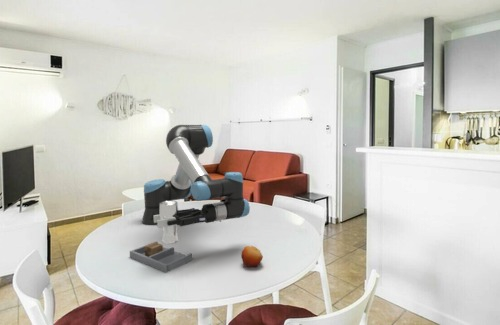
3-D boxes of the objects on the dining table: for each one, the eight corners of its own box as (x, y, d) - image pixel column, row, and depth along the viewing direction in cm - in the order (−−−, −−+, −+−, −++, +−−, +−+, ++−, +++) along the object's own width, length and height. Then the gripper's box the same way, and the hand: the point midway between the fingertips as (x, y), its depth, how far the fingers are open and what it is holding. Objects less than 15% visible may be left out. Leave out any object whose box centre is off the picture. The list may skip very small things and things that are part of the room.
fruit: (235, 257, 112) (246, 239, 112) (253, 266, 113) (263, 249, 113) (236, 267, 104) (247, 248, 104) (255, 276, 105) (266, 258, 105)
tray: (130, 258, 116) (129, 251, 116) (159, 247, 128) (159, 240, 127) (166, 274, 103) (165, 265, 103) (195, 259, 114) (195, 252, 114)
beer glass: (163, 245, 106) (160, 205, 105) (159, 239, 113) (157, 201, 111) (181, 242, 110) (180, 203, 108) (177, 236, 116) (175, 199, 114)
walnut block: (145, 255, 118) (144, 245, 118) (155, 251, 122) (154, 242, 122) (152, 258, 115) (151, 248, 115) (162, 253, 119) (162, 244, 119)
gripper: (223, 227, 111) (161, 239, 100) (205, 215, 128) (151, 224, 117) (222, 208, 110) (160, 218, 99) (205, 198, 127) (150, 206, 116)
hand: (155, 221), depth 108 cm, fingers closed on beer glass, 7 cm apart
